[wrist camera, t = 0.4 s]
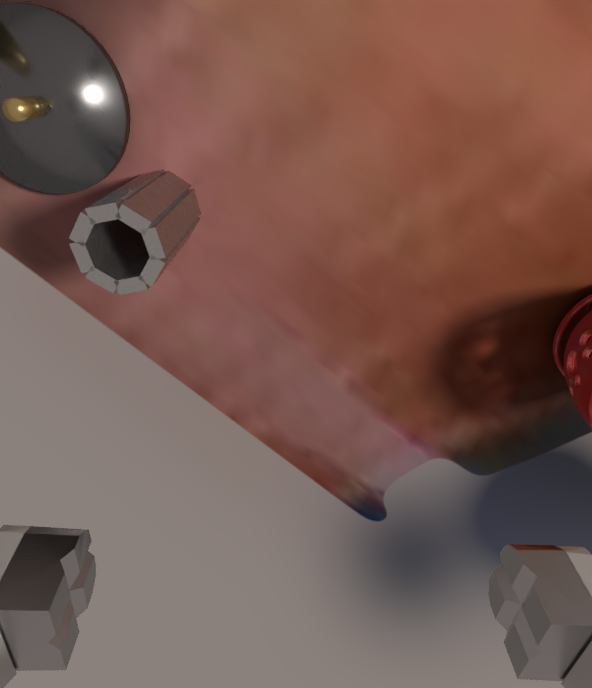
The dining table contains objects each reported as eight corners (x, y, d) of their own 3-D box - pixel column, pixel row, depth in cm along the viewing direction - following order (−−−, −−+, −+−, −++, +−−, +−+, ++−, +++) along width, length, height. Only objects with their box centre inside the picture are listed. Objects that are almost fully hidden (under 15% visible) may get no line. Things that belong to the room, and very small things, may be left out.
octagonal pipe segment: (147, 156, 43) (92, 185, 33) (211, 198, 45) (178, 239, 35) (117, 217, 46) (58, 261, 36) (179, 255, 48) (139, 308, 37)
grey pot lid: (-55, -11, 38) (-106, -21, 34) (129, 22, 39) (104, 15, 34) (-26, 177, 45) (-64, 189, 40) (130, 202, 45) (109, 218, 41)
